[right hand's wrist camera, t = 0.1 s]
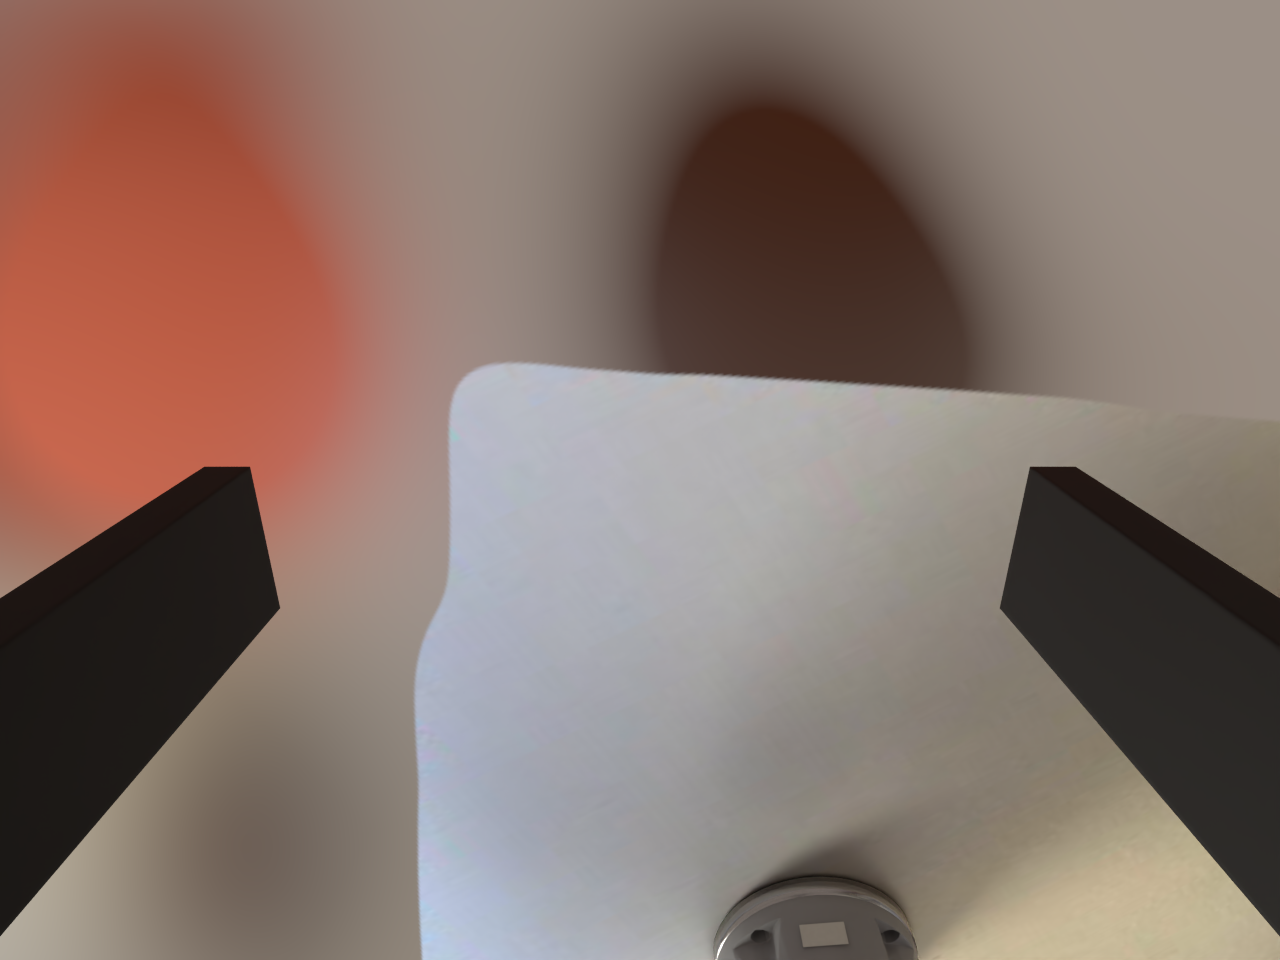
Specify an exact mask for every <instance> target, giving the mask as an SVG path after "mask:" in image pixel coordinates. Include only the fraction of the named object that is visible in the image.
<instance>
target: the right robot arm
mask: <svg viewBox="0 0 1280 960" xmlns="http://www.w3.org/2000/svg"><path fill="white" fill-rule="evenodd" d="M279 609H280V605H279V601H278V596H277V591H276V587H275V582H274V577H273V573H272V568H271V563H270V559H269V554H268V549H267V545H266V540H265V535H264V530H263V526H262V521H261V516H260V512H259V507H258V502H257V498H256V493H255V488H254V483H253V479H252V474H251V470H250V467H203V468H202V469H200V470H199V471H197V472H196V473H194V474H193V475H191V476H189V477H188V478H186V479H185V480H183V481H182V482H180V483H179V484H177V485H175V486H174V487H172V488H171V489H169V490H168V491H166V492H165V493H163V494H161V495H160V496H158V497H157V498H155V499H154V500H152V501H151V502H149V503H147V504H146V505H144V506H143V507H141V508H140V509H138V510H137V511H135V512H134V513H132V514H130V515H129V516H127V517H126V518H124V519H123V520H121V521H120V522H118V523H117V524H115V525H113V526H112V527H110V528H109V529H107V530H106V531H104V532H102V533H101V534H99V535H98V536H96V537H95V538H93V539H92V540H90V541H89V542H87V543H86V544H84V545H82V546H81V547H79V548H78V549H76V550H75V551H73V552H71V553H70V554H68V555H67V556H65V557H64V558H62V559H61V560H59V561H57V562H56V563H54V564H53V565H51V566H50V567H48V568H47V569H45V570H44V571H42V572H40V573H39V574H37V575H36V576H34V577H33V578H31V579H30V580H28V581H26V582H25V583H23V584H22V585H20V586H19V587H17V588H16V589H14V590H12V591H11V592H9V593H8V594H6V595H5V596H3V597H2V598H0V936H1V935H2V934H3V932H4V931H5V930H6V929H7V928H8V927H9V925H10V924H11V923H12V922H13V921H14V919H15V918H16V917H17V916H18V915H19V914H20V912H21V911H22V910H23V909H24V908H25V907H26V905H27V904H28V903H29V902H30V901H31V900H32V898H33V897H34V896H35V895H36V894H37V893H38V891H39V890H40V889H41V888H42V887H43V885H44V884H45V883H46V882H47V881H48V880H49V878H50V877H51V876H52V875H53V874H54V873H55V871H56V870H57V869H58V868H59V867H60V865H61V864H62V863H63V862H64V861H65V860H66V859H67V857H68V856H69V855H70V854H71V853H72V851H73V850H74V849H75V848H76V847H77V846H78V844H79V843H80V842H81V841H82V840H83V839H84V837H85V836H86V835H87V834H88V833H89V831H90V830H91V829H92V828H93V827H94V826H95V825H96V823H97V822H98V821H99V820H100V819H101V817H102V816H103V815H104V814H105V813H106V812H107V810H108V809H109V808H110V807H111V806H112V805H113V803H114V802H115V801H116V800H117V799H118V798H119V796H120V795H121V794H122V793H123V792H124V790H125V789H126V788H127V787H128V786H129V785H130V783H131V782H132V781H133V780H134V779H135V778H136V776H137V775H138V774H139V773H140V772H141V771H142V769H143V768H144V767H145V766H146V765H147V764H148V762H149V761H150V760H151V759H152V758H153V756H154V755H155V754H156V753H157V752H158V751H159V749H160V748H161V747H162V746H163V745H164V744H165V742H166V741H167V740H168V739H169V738H170V737H171V735H172V734H173V733H174V732H175V731H176V730H177V728H178V727H179V726H180V725H181V724H182V723H183V721H184V720H185V719H186V718H187V717H188V715H189V714H190V713H191V712H192V711H193V710H194V708H195V707H196V706H197V705H198V704H199V703H200V701H201V700H202V699H203V698H204V697H205V696H206V694H207V693H208V692H209V691H210V690H211V689H212V687H213V686H214V685H215V684H216V683H217V681H218V680H219V679H220V678H221V677H222V676H223V674H224V673H225V672H226V671H227V670H228V669H229V667H230V666H231V665H232V664H233V663H234V662H235V660H236V659H237V658H238V657H239V656H240V655H241V653H242V652H243V651H244V650H245V649H246V647H247V646H248V645H249V644H250V643H251V642H252V640H253V639H254V638H255V637H256V636H257V635H258V633H259V632H260V631H261V630H262V629H263V628H264V626H265V625H266V624H267V623H268V622H269V621H270V619H271V618H272V617H273V616H274V615H275V613H276V612H277V611H278V610H279ZM1000 609H1001V610H1002V611H1003V612H1004V613H1005V615H1006V616H1007V617H1008V618H1009V619H1010V621H1011V622H1012V623H1013V624H1014V625H1015V626H1016V628H1017V629H1018V630H1019V631H1020V632H1021V633H1022V635H1023V636H1024V637H1025V638H1026V639H1027V640H1028V642H1029V643H1030V644H1031V645H1032V646H1033V647H1034V649H1035V650H1036V651H1037V652H1038V653H1039V655H1040V656H1041V657H1042V658H1043V659H1044V660H1045V662H1046V663H1047V664H1048V665H1049V666H1050V667H1051V669H1052V670H1053V671H1054V672H1055V673H1056V674H1057V676H1058V677H1059V678H1060V679H1061V680H1062V681H1063V683H1064V684H1065V685H1066V686H1067V687H1068V689H1069V690H1070V691H1071V692H1072V693H1073V694H1074V696H1075V697H1076V698H1077V699H1078V700H1079V701H1080V703H1081V704H1082V705H1083V706H1084V707H1085V708H1086V710H1087V711H1088V712H1089V713H1090V714H1091V715H1092V717H1093V718H1094V719H1095V720H1096V721H1097V723H1098V724H1099V725H1100V726H1101V727H1102V728H1103V730H1104V731H1105V732H1106V733H1107V734H1108V735H1109V737H1110V738H1111V739H1112V740H1113V741H1114V742H1115V744H1116V745H1117V746H1118V747H1119V748H1120V749H1121V751H1122V752H1123V753H1124V754H1125V755H1126V757H1127V758H1128V759H1129V760H1130V761H1131V762H1132V764H1133V765H1134V766H1135V767H1136V768H1137V769H1138V771H1139V772H1140V773H1141V774H1142V775H1143V776H1144V778H1145V779H1146V780H1147V781H1148V782H1149V783H1150V785H1151V786H1152V787H1153V788H1154V789H1155V791H1156V792H1157V793H1158V794H1159V795H1160V796H1161V798H1162V799H1163V800H1164V801H1165V802H1166V803H1167V805H1168V806H1169V807H1170V808H1171V809H1172V810H1173V812H1174V813H1175V814H1176V815H1177V816H1178V817H1179V819H1180V820H1181V821H1182V822H1183V823H1184V825H1185V826H1186V827H1187V828H1188V829H1189V830H1190V832H1191V833H1192V834H1193V835H1194V836H1195V837H1196V839H1197V840H1198V841H1199V842H1200V843H1201V844H1202V846H1203V847H1204V848H1205V849H1206V850H1207V851H1208V853H1209V854H1210V855H1211V856H1212V857H1213V859H1214V860H1215V861H1216V862H1217V863H1218V864H1219V866H1220V867H1221V868H1222V869H1223V870H1224V871H1225V873H1226V874H1227V875H1228V876H1229V877H1230V878H1231V880H1232V881H1233V882H1234V883H1235V884H1236V885H1237V887H1238V888H1239V889H1240V890H1241V891H1242V893H1243V894H1244V895H1245V896H1246V897H1247V898H1248V900H1249V901H1250V902H1251V903H1252V904H1253V905H1254V907H1255V908H1256V909H1257V910H1258V911H1259V912H1260V914H1261V915H1262V916H1263V917H1264V918H1265V919H1266V921H1267V922H1268V923H1269V924H1270V925H1271V927H1272V928H1273V929H1274V930H1275V931H1276V932H1277V934H1278V935H1279V936H1280V598H1278V597H1277V596H1275V595H1274V594H1272V593H1271V592H1269V591H1268V590H1266V589H1264V588H1263V587H1261V586H1260V585H1258V584H1257V583H1255V582H1254V581H1252V580H1250V579H1249V578H1247V577H1246V576H1244V575H1243V574H1241V573H1240V572H1238V571H1236V570H1235V569H1233V568H1232V567H1230V566H1229V565H1227V564H1226V563H1224V562H1223V561H1221V560H1219V559H1218V558H1216V557H1215V556H1213V555H1212V554H1210V553H1209V552H1207V551H1205V550H1204V549H1202V548H1201V547H1199V546H1198V545H1196V544H1195V543H1193V542H1191V541H1190V540H1188V539H1187V538H1185V537H1184V536H1182V535H1181V534H1179V533H1178V532H1176V531H1174V530H1173V529H1171V528H1170V527H1168V526H1167V525H1165V524H1164V523H1162V522H1160V521H1159V520H1157V519H1156V518H1154V517H1153V516H1151V515H1150V514H1148V513H1146V512H1145V511H1143V510H1142V509H1140V508H1139V507H1137V506H1136V505H1134V504H1133V503H1131V502H1129V501H1128V500H1126V499H1125V498H1123V497H1122V496H1120V495H1119V494H1117V493H1115V492H1114V491H1112V490H1111V489H1109V488H1108V487H1106V486H1105V485H1103V484H1101V483H1100V482H1098V481H1097V480H1095V479H1094V478H1092V477H1091V476H1089V475H1088V474H1086V473H1084V472H1083V471H1081V470H1080V469H1078V468H1077V467H1030V469H1029V474H1028V479H1027V483H1026V488H1025V493H1024V498H1023V502H1022V507H1021V512H1020V516H1019V521H1018V526H1017V530H1016V535H1015V540H1014V544H1013V549H1012V554H1011V559H1010V563H1009V568H1008V573H1007V577H1006V582H1005V587H1004V591H1003V596H1002V601H1001V605H1000ZM714 960H918V954H917V947H916V943H915V940H914V937H913V935H912V932H911V929H910V926H909V924H908V921H907V919H906V917H905V915H904V913H903V912H902V910H901V909H900V908H899V907H898V905H897V904H896V903H895V902H894V901H893V900H892V899H890V898H889V897H888V896H886V895H885V894H884V893H882V892H880V891H879V890H877V889H875V888H873V887H871V886H869V885H866V884H863V883H860V882H857V881H853V880H849V879H844V878H837V877H805V878H798V879H792V880H788V881H784V882H780V883H777V884H774V885H771V886H768V887H766V888H764V889H761V890H759V891H758V892H756V893H754V894H752V895H750V896H749V897H747V898H746V899H744V900H743V901H742V902H740V903H739V904H738V905H737V906H736V907H734V908H733V909H732V910H731V911H730V913H729V914H728V915H727V916H726V917H725V919H724V920H723V922H722V923H721V925H720V927H719V929H718V931H717V934H716V937H715V941H714Z"/></svg>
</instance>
